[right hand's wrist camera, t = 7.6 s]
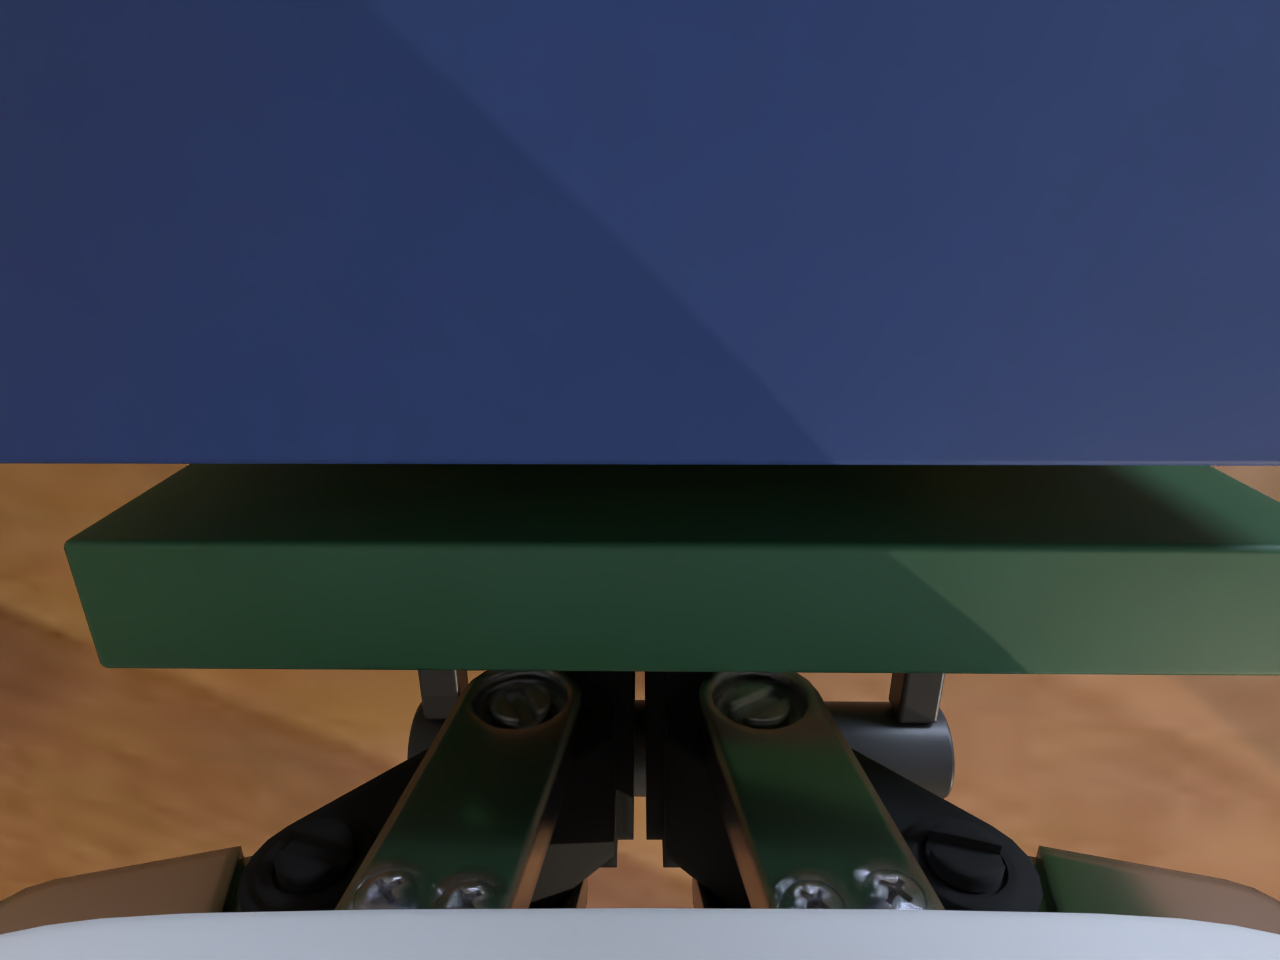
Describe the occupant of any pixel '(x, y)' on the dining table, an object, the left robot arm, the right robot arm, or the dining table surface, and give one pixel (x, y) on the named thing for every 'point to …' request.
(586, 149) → the cabinet
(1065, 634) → the drawer
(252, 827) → the dining table surface
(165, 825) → the dining table surface
